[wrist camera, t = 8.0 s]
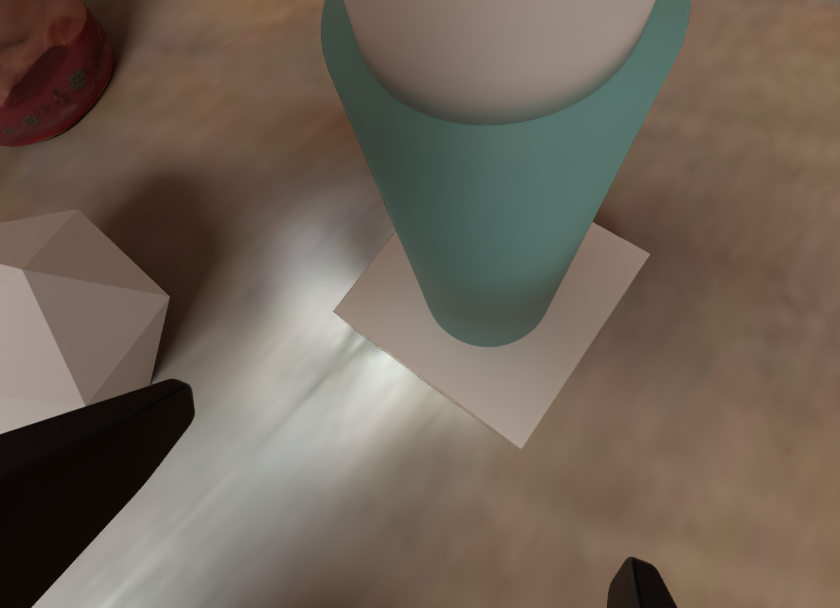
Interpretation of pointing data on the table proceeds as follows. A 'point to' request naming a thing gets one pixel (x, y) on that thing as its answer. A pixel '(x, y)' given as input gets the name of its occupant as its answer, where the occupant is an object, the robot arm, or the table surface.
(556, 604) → the table surface
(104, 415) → the robot arm
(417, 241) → the thermos
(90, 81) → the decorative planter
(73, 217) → the die
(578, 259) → the block
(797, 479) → the table surface
